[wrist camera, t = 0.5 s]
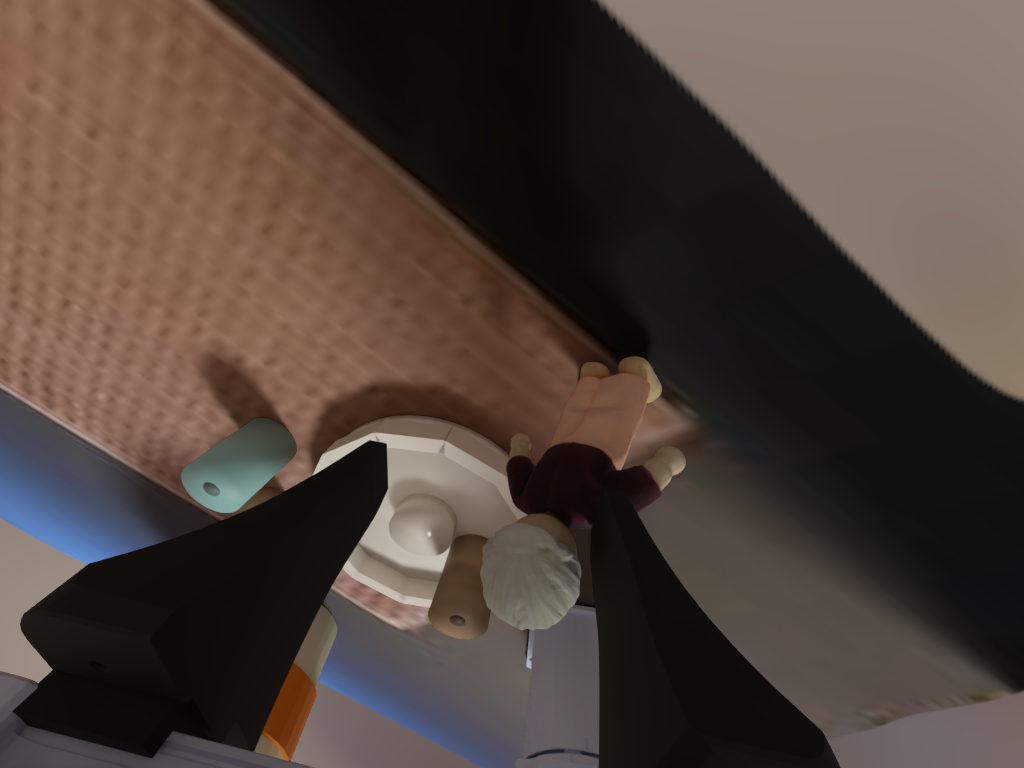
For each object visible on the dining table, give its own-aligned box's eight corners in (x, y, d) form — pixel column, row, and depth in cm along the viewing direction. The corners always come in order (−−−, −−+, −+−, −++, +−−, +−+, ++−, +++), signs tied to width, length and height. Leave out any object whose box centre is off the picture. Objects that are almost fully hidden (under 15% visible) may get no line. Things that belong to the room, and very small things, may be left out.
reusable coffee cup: (235, 629, 40) (65, 848, 26) (230, 556, 34) (8, 790, 20) (348, 668, 40) (236, 904, 27) (362, 601, 34) (229, 862, 21)
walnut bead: (500, 573, 28) (487, 644, 24) (451, 566, 29) (429, 634, 24) (501, 538, 27) (487, 607, 22) (449, 530, 27) (425, 597, 23)
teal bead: (301, 464, 27) (249, 517, 23) (254, 458, 28) (193, 509, 23) (289, 420, 26) (230, 468, 21) (239, 415, 26) (170, 460, 22)
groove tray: (532, 595, 30) (530, 624, 28) (346, 566, 32) (330, 591, 30) (548, 429, 23) (546, 452, 21) (306, 403, 25) (282, 421, 23)
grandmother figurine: (582, 418, 23) (464, 627, 14) (551, 367, 22) (403, 561, 13) (719, 396, 18) (658, 704, 9) (688, 328, 16) (586, 607, 8)
